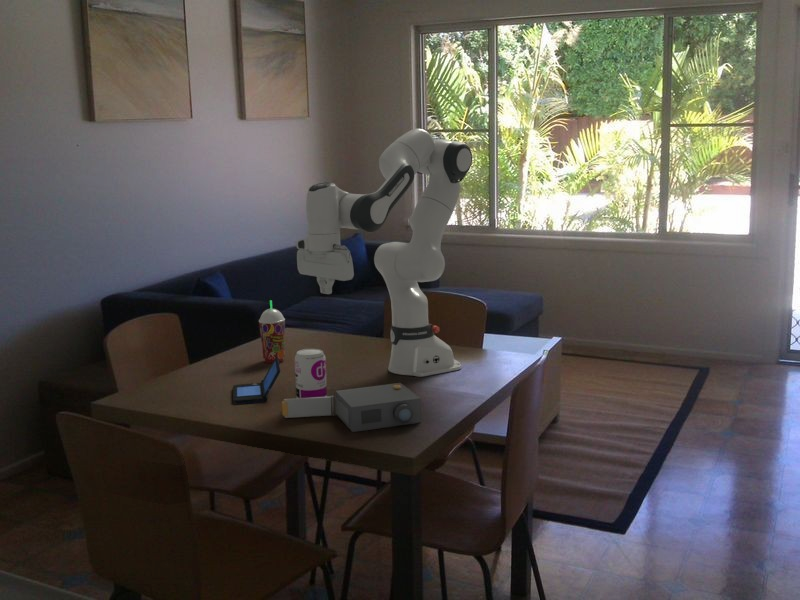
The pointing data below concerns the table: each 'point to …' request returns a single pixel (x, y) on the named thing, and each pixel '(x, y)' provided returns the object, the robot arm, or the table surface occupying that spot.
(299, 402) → the side door
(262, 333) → the smoothie
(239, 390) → the handheld game console
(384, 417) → the camera body
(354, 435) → the table surface
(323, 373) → the supplement can
